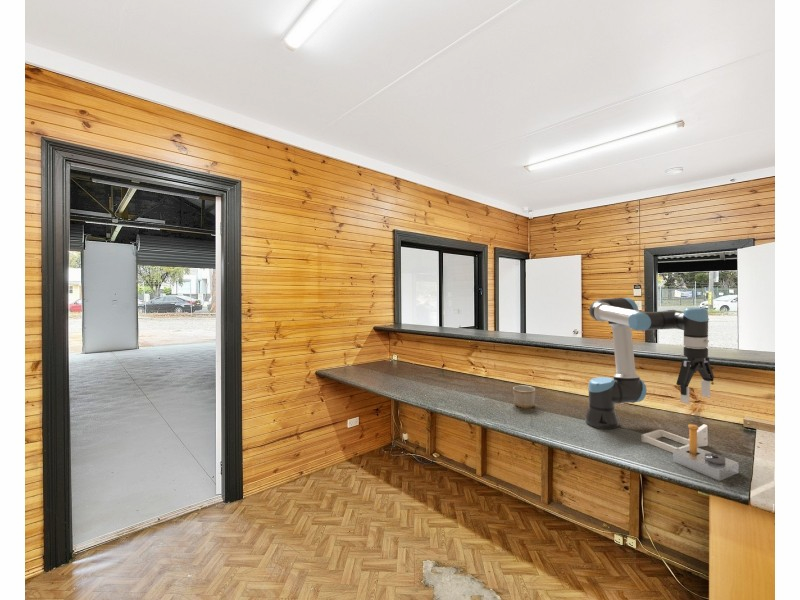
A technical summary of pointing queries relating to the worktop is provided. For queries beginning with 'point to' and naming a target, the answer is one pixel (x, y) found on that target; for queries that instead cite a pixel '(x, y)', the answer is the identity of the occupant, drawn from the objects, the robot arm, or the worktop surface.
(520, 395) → the planter
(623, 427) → the worktop surface
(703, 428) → the white wedge bracket
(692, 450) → the lock pin
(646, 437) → the tray
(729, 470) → the block
